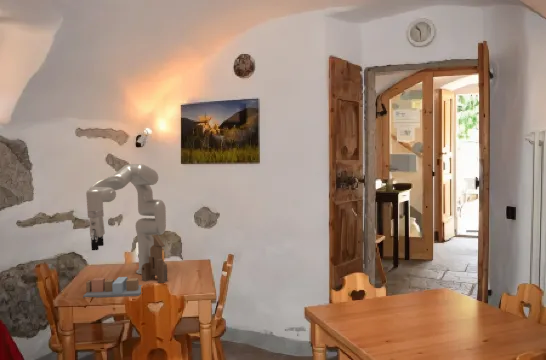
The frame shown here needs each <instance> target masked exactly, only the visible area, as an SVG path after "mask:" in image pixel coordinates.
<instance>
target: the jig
mask: <svg viewBox="0 0 546 360" xmlns="http://www.w3.org/2000/svg"><path fill="white" fill-rule="evenodd" d="M91 280H92V279H90V280H88V281H86V283H85V284H86V285H85V287H86V293H84V294H83V297H82V298H84V297H96V298H116V297H117V298H119V297H139V295H140V294H141V295H142V293H141V286H142V285H143V284H139V278H137V277H135V278H134V277H133V278H132V277H131V278H128V280H127V281H126V287H127V288H126V289H125V290H124V292H123V293H116V294H113V288H112V283H113V282H114V281H115V279H114V278H111V279H110V278H107V279H105V290H104V291H103V292H92V284H91ZM141 295H140V296H141Z"/></svg>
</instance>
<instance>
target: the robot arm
mask: <svg viewBox="0 0 546 360" xmlns="http://www.w3.org/2000/svg"><path fill="white" fill-rule="evenodd" d="M158 181H159V174H158V172H157V171H156V170H155V169H153V168H151V167H150V166H147V165H145V164H142V163H141V164H140V163H130V164H125V165H123V167H121V168H119V170H118V171H116V173H114V174H113V175H111V176H108V177H106V178H103V179H101V180H99V181H96V182H95V183H94V184H93V185H92V186H90V187H89V188H88V190H86V195H85V196H86V207H87V208H86V210H87V211H86V212H87V218H88V219H89V236H90V243H91V244H90V245H91V251H98V250H99V247H104V245H105V243H104V235H105V232H106V231H105V223H104V216H105V214H104V203H110V202H113V201H114V200H115V199H116V197H117V192H116V191H119V190H122V189H124V188H125V187H126V186H127V185H128V184H129V183H131V184H132V185H133V186H134V187H135V189H136V190H135V191H136V192H137V210H138V214H139V215H140V216H145V217H142V218H139V219H138V220H136V222H135V231H136V235H137V237H136V238H137V251H138V253H137V254H138V269H136V271H135V272H136V274H138V275H142V265H143V264H145V263H149V257H150V248H151V247H152V246H153V245H154V237H153V236H154V235H158V236H160V235H163V234H164V233H165V232H166V226H167V219H166V218H167V217H166V216H167V215H166V212H167V211H166V205H165V203H164V201H163V200H162V199H154V195H153V188H152V187H151V186H154V185H156V184H157V183H158ZM147 216H148V217H147ZM152 217H153V218H152Z"/></svg>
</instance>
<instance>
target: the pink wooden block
mask: <svg viewBox="0 0 546 360" xmlns="http://www.w3.org/2000/svg"><path fill="white" fill-rule="evenodd" d="M90 280H91V284H92V292H103V291H104V290H105V281H106V277H94V278H92V279H90Z"/></svg>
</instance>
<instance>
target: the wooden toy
mask: <svg viewBox="0 0 546 360" xmlns="http://www.w3.org/2000/svg"><path fill="white" fill-rule="evenodd" d="M152 237H153V238H154V245H153V246H152V247H151V248H150V257H149V263H145V264H143V265H142V274H141V281H143V282H144V281H145V282H147V281H151V280H155V278H156V277H157V284H159V283H162V284H164V283H165V282H169V281H168V265H167V263H166V262H165V261H164V258H163V247H165V243H164V242H163V241H162V239H161V237H160V236H159V235H152Z"/></svg>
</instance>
